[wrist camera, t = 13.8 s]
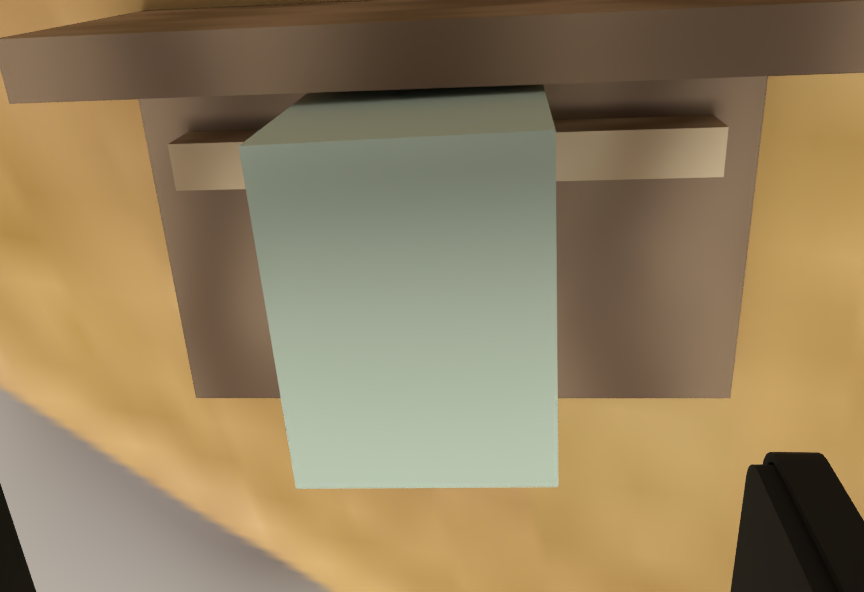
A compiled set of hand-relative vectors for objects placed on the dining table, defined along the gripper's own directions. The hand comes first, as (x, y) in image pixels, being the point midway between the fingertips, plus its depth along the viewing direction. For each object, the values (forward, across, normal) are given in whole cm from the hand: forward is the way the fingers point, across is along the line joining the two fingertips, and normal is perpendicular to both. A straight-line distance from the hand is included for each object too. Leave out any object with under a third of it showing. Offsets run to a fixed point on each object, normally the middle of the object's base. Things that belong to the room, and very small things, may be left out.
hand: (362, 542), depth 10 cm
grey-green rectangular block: (+18, 0, +1) cm, 18 cm away
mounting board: (+20, 0, +2) cm, 20 cm away
